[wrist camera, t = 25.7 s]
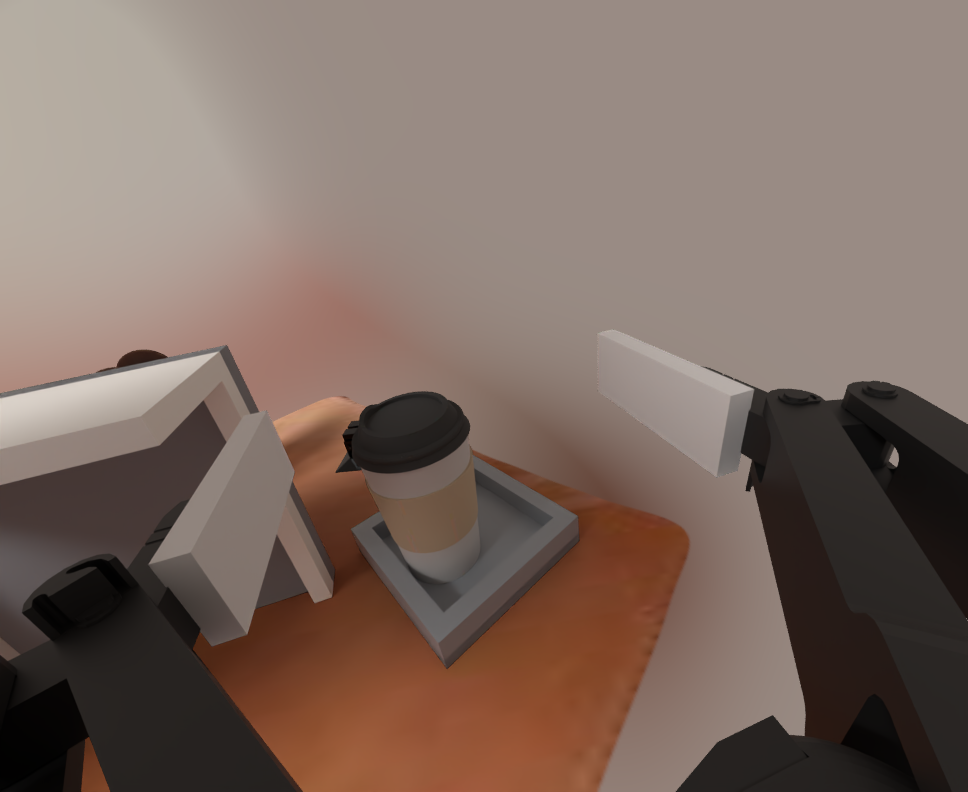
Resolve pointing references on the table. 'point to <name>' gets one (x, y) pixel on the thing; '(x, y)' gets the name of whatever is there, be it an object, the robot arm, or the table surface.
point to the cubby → (124, 476)
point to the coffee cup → (422, 481)
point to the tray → (495, 575)
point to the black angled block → (349, 449)
